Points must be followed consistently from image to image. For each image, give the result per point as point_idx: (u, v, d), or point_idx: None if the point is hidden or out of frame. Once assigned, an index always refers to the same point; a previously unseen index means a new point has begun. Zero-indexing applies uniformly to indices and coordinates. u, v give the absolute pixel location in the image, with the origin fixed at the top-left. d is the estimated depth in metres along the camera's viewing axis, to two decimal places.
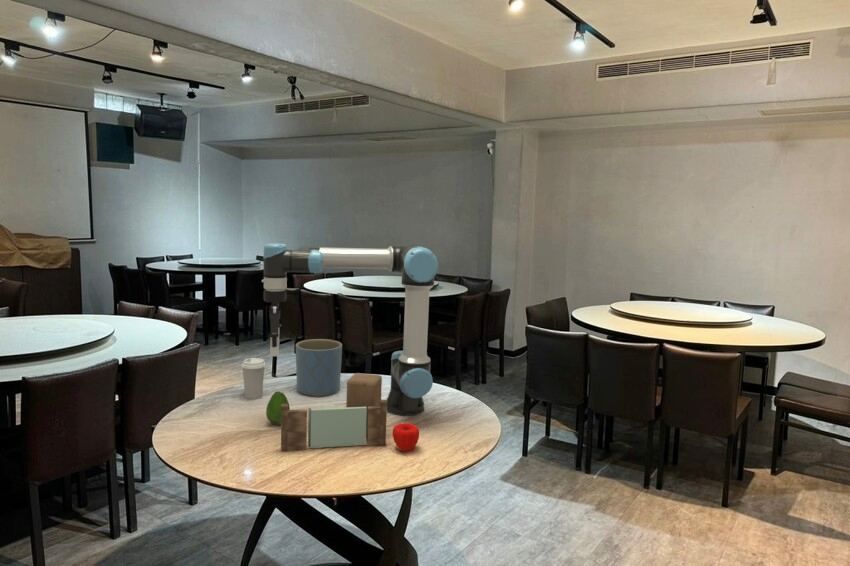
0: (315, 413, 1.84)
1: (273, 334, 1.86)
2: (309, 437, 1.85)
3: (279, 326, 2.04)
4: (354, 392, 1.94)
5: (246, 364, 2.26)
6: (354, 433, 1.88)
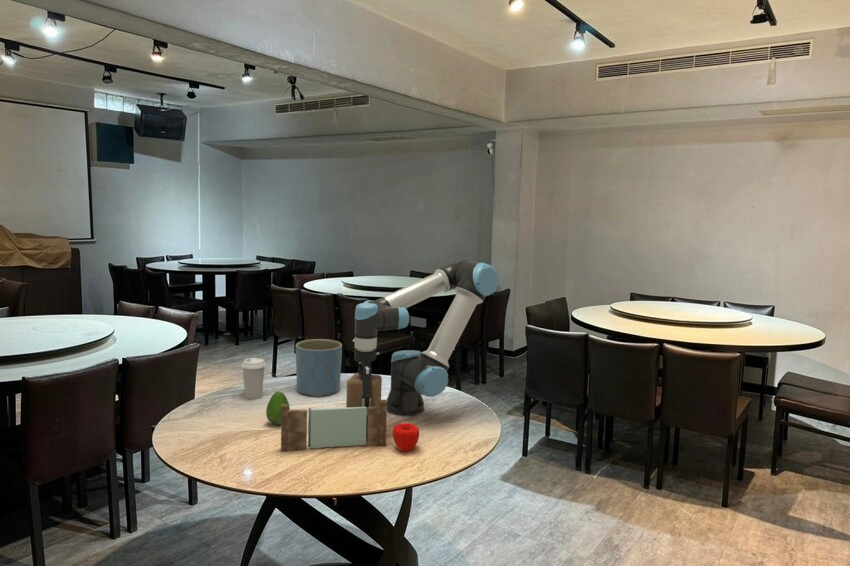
0: (315, 413, 1.84)
1: (367, 396, 1.89)
2: (309, 437, 1.85)
3: None
4: (354, 392, 1.94)
5: (246, 364, 2.26)
6: (354, 433, 1.88)
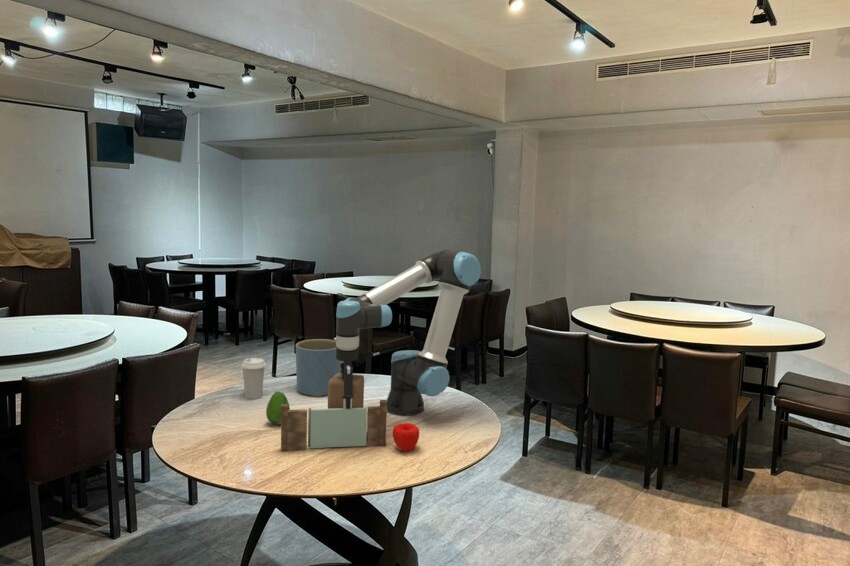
0: (315, 413, 1.84)
1: (348, 396, 1.84)
2: (309, 437, 1.85)
3: None
4: (336, 392, 1.89)
5: (246, 364, 2.26)
6: (355, 434, 1.88)
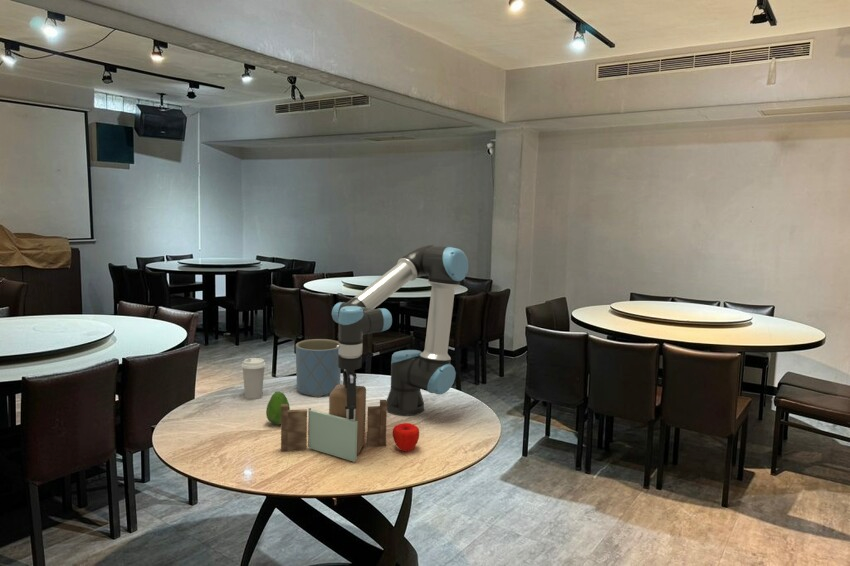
0: (312, 414, 1.83)
1: (351, 406, 1.75)
2: (308, 437, 1.85)
3: None
4: (338, 405, 1.80)
5: (246, 364, 2.26)
6: (344, 446, 1.78)
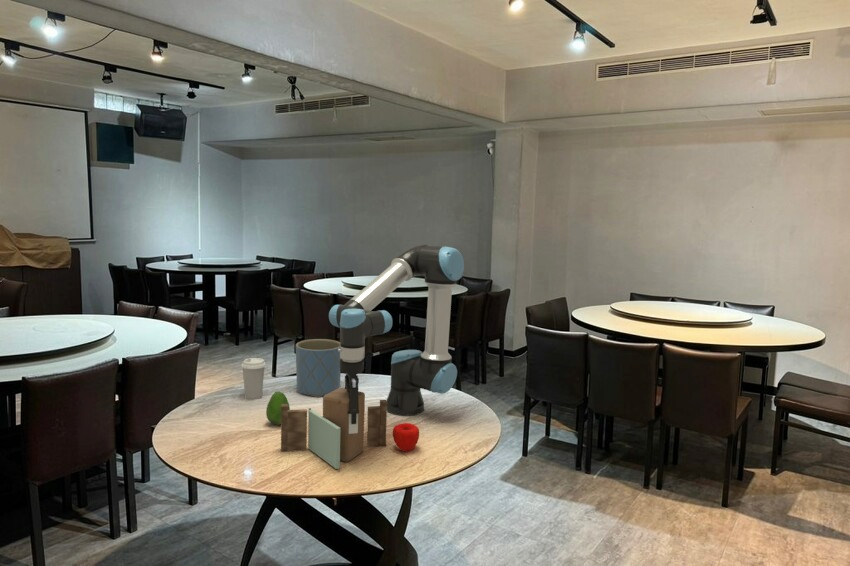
0: (310, 415, 1.83)
1: (353, 411, 1.71)
2: (308, 437, 1.85)
3: None
4: (330, 409, 1.77)
5: (246, 364, 2.26)
6: (330, 452, 1.74)
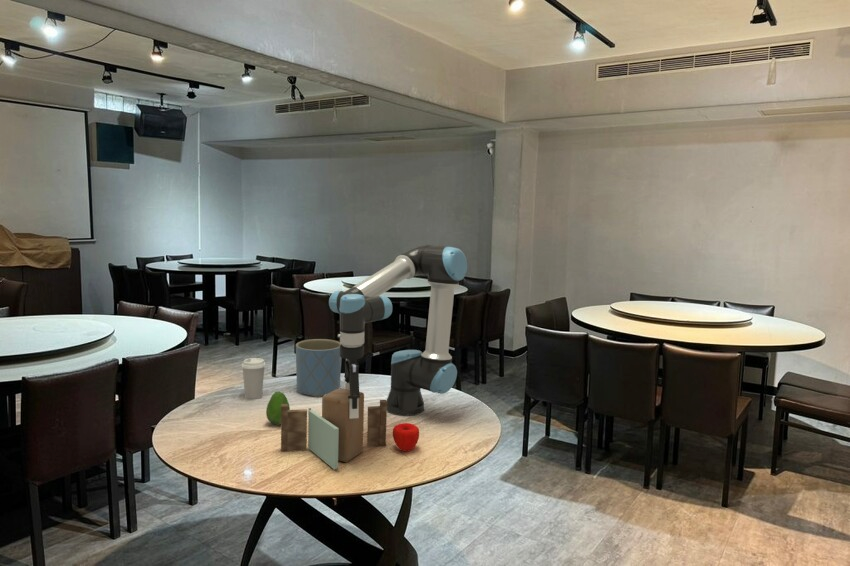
0: (310, 415, 1.83)
1: (354, 396, 1.71)
2: (308, 437, 1.85)
3: None
4: (329, 409, 1.77)
5: (246, 364, 2.26)
6: (328, 452, 1.74)
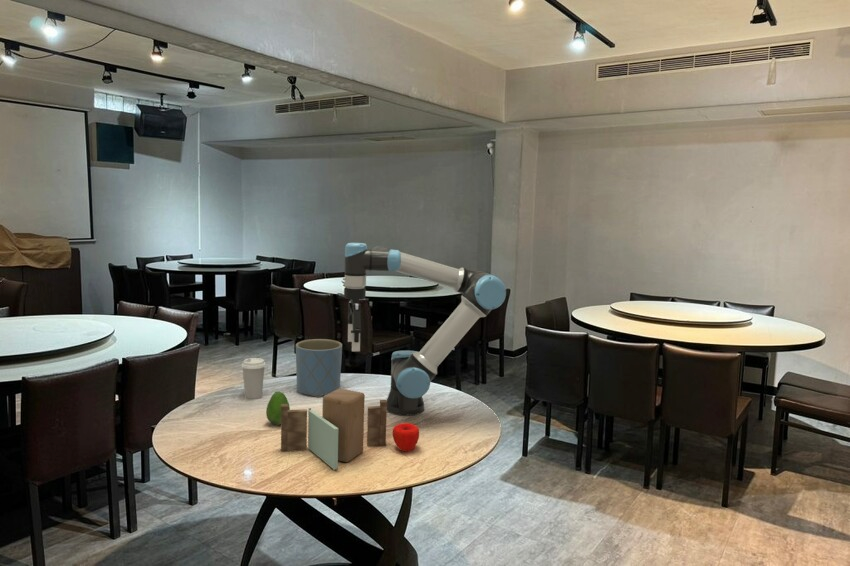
0: (310, 415, 1.83)
1: (356, 330, 1.94)
2: (308, 437, 1.85)
3: None
4: (329, 409, 1.77)
5: (246, 364, 2.26)
6: (328, 452, 1.74)
